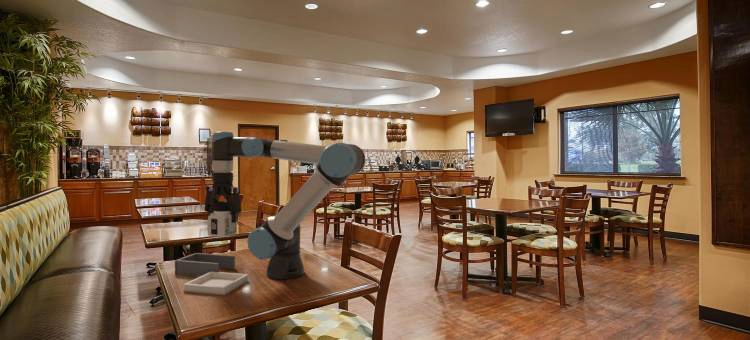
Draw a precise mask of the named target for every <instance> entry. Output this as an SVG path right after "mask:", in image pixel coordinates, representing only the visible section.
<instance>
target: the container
mask: <svg viewBox="0 0 750 340" xmlns="http://www.w3.org/2000/svg"><path fill="white" fill-rule="evenodd" d="M214 213H215V214H214V215H209V214H208V216H207V235H208V236H209V237H219V238H220V237H221V238H222V237H223V238H225V237H230V236H232V235H236V234H237V233H238V230H237V229H238V227H237V226H238V217H237V218H236V222H235V231H231V232H229V215H230V214H231V213H230V210H229V207H228V204H227V201H226V200H219V201H217V202H215V203H214Z"/></svg>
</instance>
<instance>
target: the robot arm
mask: <svg viewBox="0 0 750 340" xmlns="http://www.w3.org/2000/svg"><path fill="white" fill-rule="evenodd" d="M211 144H212V160H211V161H212V164H211V166H212V167H211V168H212V169H211V170H212V171H213V172H212V174H211V175H212V176H211V177H212V179H211V181H212V185H207V186H205V191H206V194H205V202H204V209H203V210H204V211H205V212H207V213H208V216H209V215H214V214H215V213H214V203H215V202H217V201H220V198H221V197H223V198H224V199H225V201H227V204H228V207H229V210H230V213H231V214H230V215H229V232H231V231H235V222H236V218H237V219H238V214H239V213H242V206H241V199H240V190H241V188H240V187H239V186H234V184H233V181H234V173H233V171H234V158H235V157H237V158H239V157H240V158H241V157H242V158H269V159H276V160H282V161H283V160H284V161H291V162H298V163H305V164H310V165H312V164H313V165H315V171H314V172H313V173H312V174H311V176H309V178H308V179H307V181H306V182H305V183H303V185H302V186H301V187H300V188H299V189H298V190H297V192H295V194H293V196H292V197H291V198H290V199H289V200H288V201H287V203H285V205H284V206H283V207H282V208H281V209H280V210H279V211H278V212H277V214H276V215H270V216H268V217H267V219H266V220H265V221H264V222H263V223H262V224H261V226H259V227H256V228H254V229H253V230H251V232H250V233H249V234H248V236H247V241H246V242H247V248H248V250H249V252H250V253H251V255H252V256H253V257H254V258H256V259H259V260H267V259H269V261H268V264H267V267H266V277H268V278H269V279H273V280H289V279H297V278H300V277H302V276H304V274H305V266H304V263H303V260H302V256H301V224H302V222H304V220H305V218H307V216H309V215H310V214H311V212H312V211H313V210H314V209H315V208H316V207H317V206H318V205H319V203H320V202H322V200H323V199H324V198H325V197H326V196H327V195H328V194H329V193H330V192H331V190H333V188H336V187H337V188H340V187H341V186H342V185H343V184H344V183H345V182H346V180H348V178H349V177H350V176H353V175H356V174H358V173H360V172H361V171H362V170H363V169H364V167H365V166H366V154H365V153H364V150H363V149H362V148H361V147H360V146H359V145H355V144H352V143H345V142H336V143H331V144H330V145H328V146H326V145H318V144H309V143H301V142H293V141H285V140H278V139H277V140H276V139H271V138H259V137H255V136H245V137H244V136H243V137H242V136H241V137H239V136H237V137H236V136H234V132H232V131H215V132H213V134H212V142H211Z"/></svg>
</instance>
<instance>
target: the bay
mask: <svg viewBox="0 0 750 340" xmlns="http://www.w3.org/2000/svg"><path fill="white" fill-rule="evenodd" d="M220 269H228V270H235V269H236V255H229V254H228V255H227V254H216V253H215V254H214V253H213V254H212V253H201V252H194V253H193V254H188V255H187V256H184V257H180V258H179V259H176V260H174V275H182V276H195V277H200V276H202V275H205V274H207V273H209V272H211V271H212V272H220V271H219V270H220Z"/></svg>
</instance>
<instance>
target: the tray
mask: <svg viewBox="0 0 750 340" xmlns="http://www.w3.org/2000/svg"><path fill="white" fill-rule="evenodd" d="M248 282H249V274H247V273H237V272H236V273H235V272H223V271H222V272H221V271H219V272H212V271H211V272H209V273H207V274H205V275H202V276H197V277H196V278H194V279H192V280H189V281H188V282H186V283H185V282H184V284H183V292H186V293H195V294H196V293H197V294H204V295H205V294H206V295H217V296H218V295H219V296H226V295H227V294H229V293H231V292H233V291H234V290H236V289H237V288H239V287H241V286H242V285H244V284H246V283H248Z"/></svg>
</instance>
